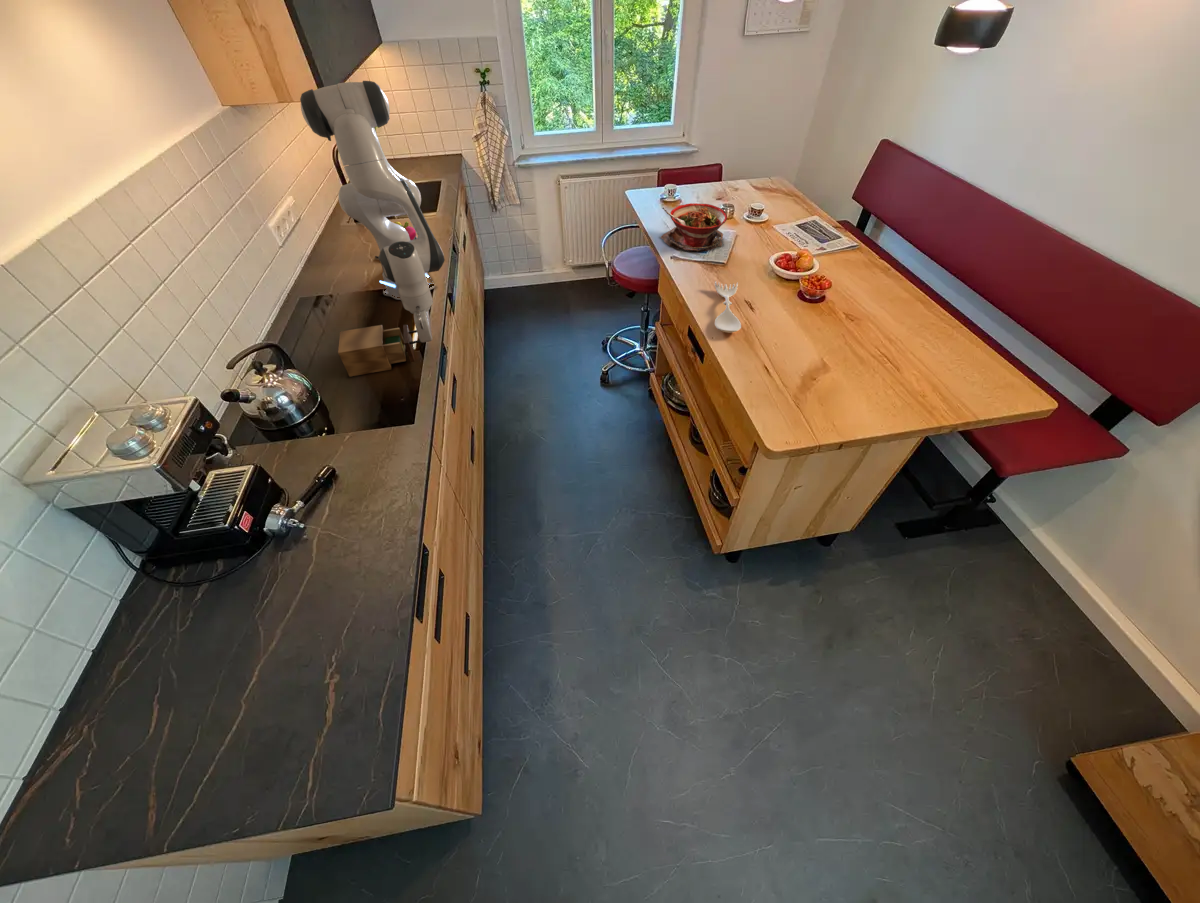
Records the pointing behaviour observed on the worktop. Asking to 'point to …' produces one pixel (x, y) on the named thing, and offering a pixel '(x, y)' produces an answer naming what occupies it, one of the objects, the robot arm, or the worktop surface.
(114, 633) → the worktop surface
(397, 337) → the sponge
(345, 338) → the cabinet
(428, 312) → the robot arm
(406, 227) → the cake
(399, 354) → the drawer
